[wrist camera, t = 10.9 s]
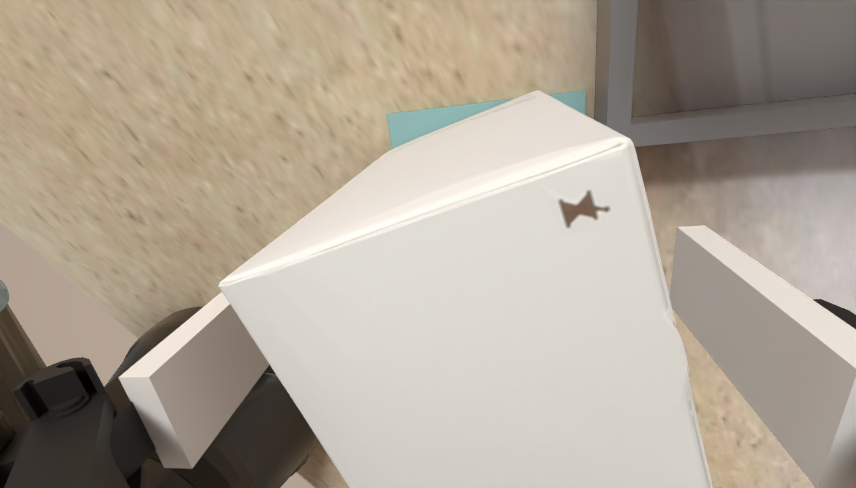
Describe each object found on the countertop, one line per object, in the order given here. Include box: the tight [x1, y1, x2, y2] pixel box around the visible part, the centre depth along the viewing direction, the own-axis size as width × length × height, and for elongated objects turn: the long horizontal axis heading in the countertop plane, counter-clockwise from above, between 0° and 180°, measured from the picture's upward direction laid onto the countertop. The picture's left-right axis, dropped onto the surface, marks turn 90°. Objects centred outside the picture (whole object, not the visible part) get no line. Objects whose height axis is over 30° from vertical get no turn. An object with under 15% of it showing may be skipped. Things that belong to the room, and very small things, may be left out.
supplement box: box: [218, 90, 713, 488], centre depth 15 cm, size 9×9×15 cm
